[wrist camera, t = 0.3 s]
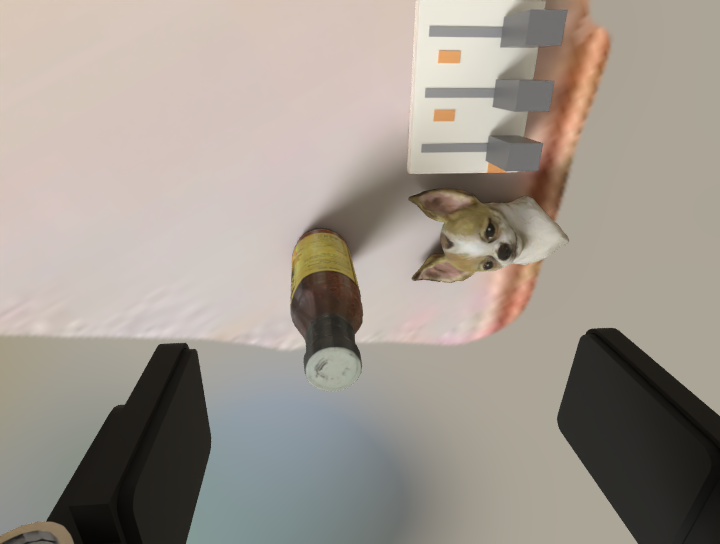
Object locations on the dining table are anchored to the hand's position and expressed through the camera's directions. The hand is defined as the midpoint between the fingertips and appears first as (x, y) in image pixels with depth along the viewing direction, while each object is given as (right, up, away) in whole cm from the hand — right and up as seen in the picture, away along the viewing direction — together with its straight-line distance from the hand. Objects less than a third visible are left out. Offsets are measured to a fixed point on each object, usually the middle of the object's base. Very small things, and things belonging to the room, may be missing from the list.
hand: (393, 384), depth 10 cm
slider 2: (+13, +20, +30) cm, 38 cm away
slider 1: (+13, +24, +28) cm, 39 cm away
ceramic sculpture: (+12, +8, +38) cm, 40 cm away
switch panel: (+10, +20, +31) cm, 38 cm away
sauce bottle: (-5, +5, +37) cm, 38 cm away
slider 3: (+13, +15, +32) cm, 38 cm away
